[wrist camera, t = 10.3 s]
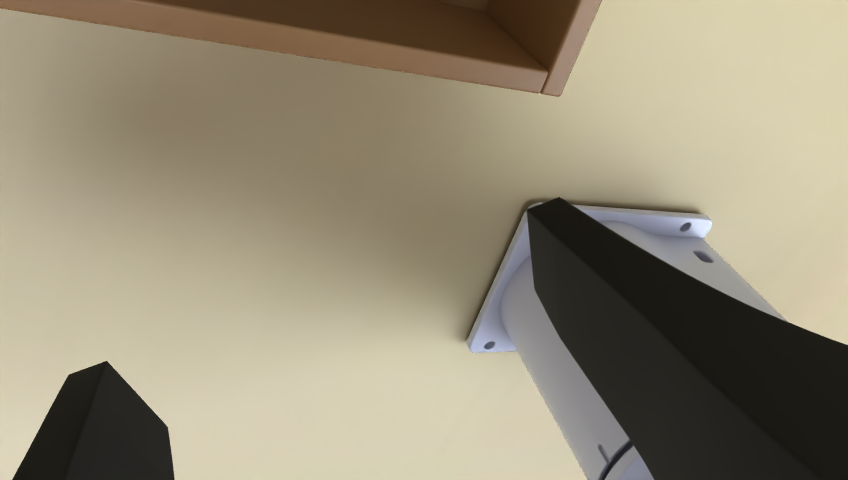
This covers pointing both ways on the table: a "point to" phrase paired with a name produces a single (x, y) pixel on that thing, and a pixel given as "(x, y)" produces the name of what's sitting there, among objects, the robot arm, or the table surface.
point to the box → (372, 32)
